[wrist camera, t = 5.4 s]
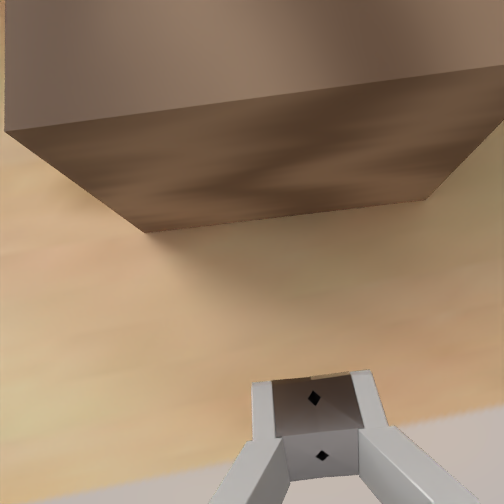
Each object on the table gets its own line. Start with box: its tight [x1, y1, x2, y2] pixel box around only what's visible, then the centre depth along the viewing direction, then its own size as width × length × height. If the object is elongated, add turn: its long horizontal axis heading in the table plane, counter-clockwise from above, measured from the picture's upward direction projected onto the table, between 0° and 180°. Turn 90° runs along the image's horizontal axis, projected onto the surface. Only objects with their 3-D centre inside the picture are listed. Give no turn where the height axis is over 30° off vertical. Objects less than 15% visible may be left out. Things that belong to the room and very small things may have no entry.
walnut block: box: [4, 0, 504, 233], centre depth 16 cm, size 12×12×10 cm
